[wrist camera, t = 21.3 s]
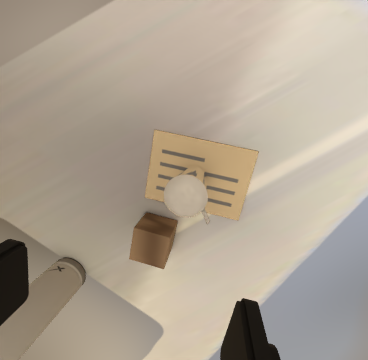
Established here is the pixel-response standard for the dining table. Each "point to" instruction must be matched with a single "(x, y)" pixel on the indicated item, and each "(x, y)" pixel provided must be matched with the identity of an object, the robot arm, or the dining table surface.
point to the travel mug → (40, 307)
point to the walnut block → (153, 240)
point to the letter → (207, 160)
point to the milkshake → (187, 193)
